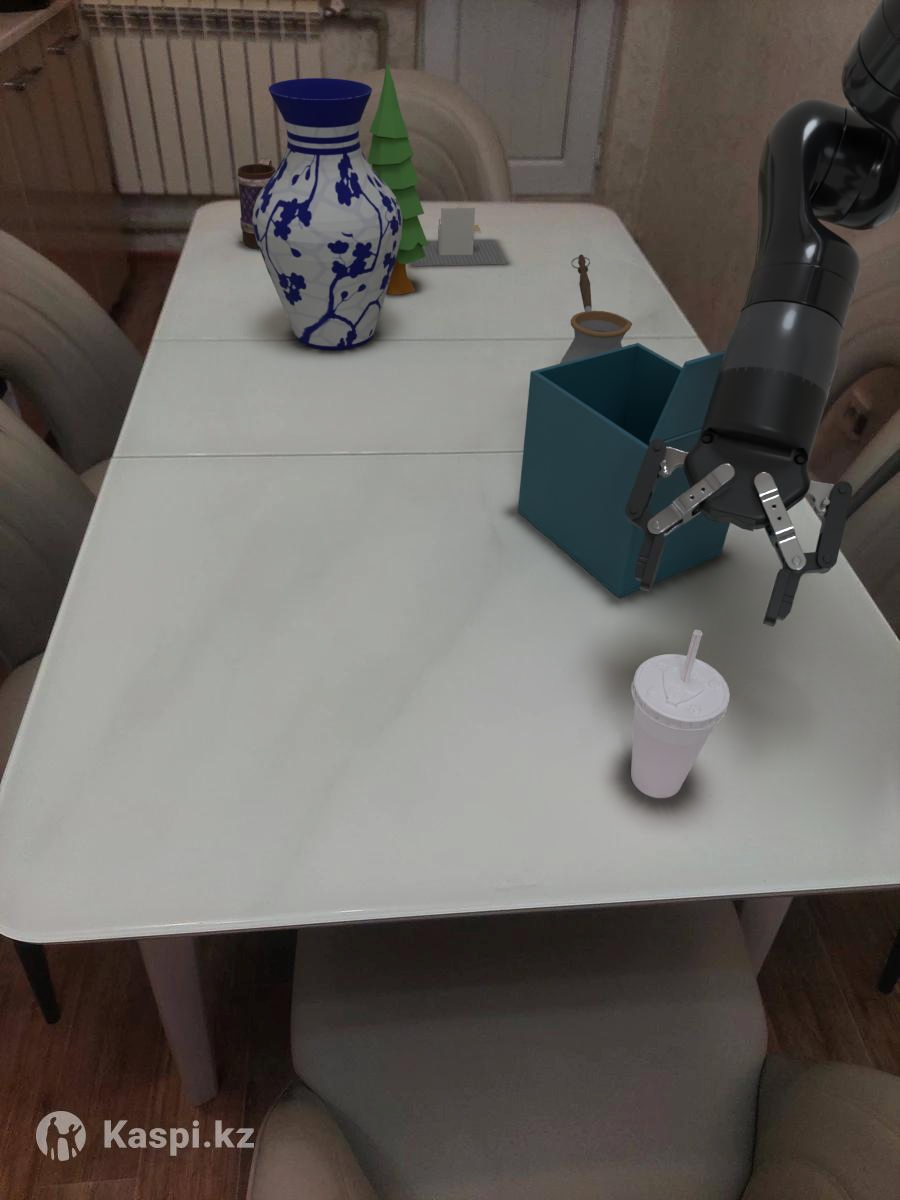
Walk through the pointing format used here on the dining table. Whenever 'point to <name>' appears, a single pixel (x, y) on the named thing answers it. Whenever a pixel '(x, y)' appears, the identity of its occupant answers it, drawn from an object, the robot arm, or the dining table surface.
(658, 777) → the smoothie
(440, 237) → the napkin holder
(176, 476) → the dining table surface
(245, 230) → the mug
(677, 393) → the flap
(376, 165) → the decorative tree
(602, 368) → the open storage box
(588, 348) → the coffee pot
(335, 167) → the vase
